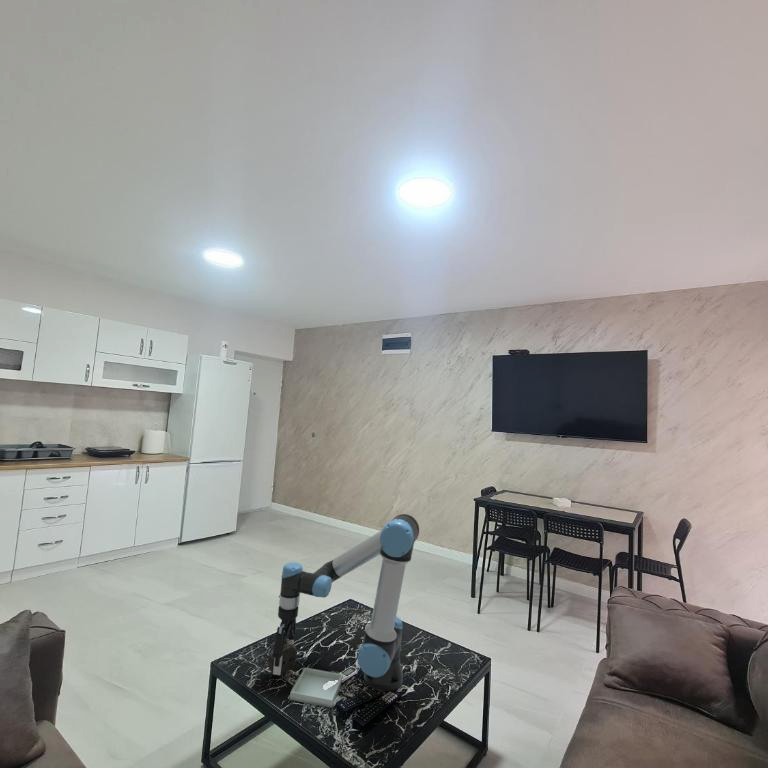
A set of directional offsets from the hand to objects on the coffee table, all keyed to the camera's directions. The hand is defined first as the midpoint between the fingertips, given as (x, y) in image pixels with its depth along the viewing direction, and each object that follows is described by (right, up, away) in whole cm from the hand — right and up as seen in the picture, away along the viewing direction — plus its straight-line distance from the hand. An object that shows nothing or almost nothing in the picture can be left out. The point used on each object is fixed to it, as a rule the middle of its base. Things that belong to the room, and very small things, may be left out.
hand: (282, 665), depth 159 cm
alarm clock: (0, -4, -1) cm, 4 cm away
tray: (+14, -4, -7) cm, 17 cm away
